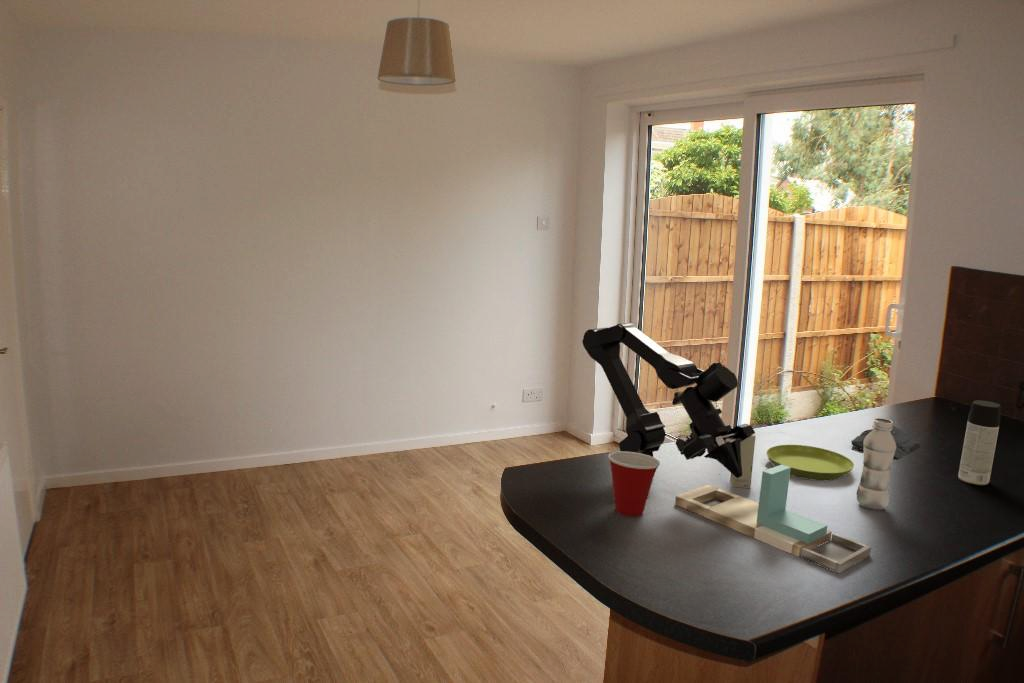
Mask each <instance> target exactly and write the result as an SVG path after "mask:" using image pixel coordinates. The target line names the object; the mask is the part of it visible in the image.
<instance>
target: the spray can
mask: <svg viewBox="0 0 1024 683" xmlns="http://www.w3.org/2000/svg"><path fill="white" fill-rule="evenodd" d="M1001 411H1002V405H1001V404H999V403H996V402H993V401H988V400H979V399H978V400H973V401H972V403H971V405H970V410H969V413H968V418H967V422H966V428H965V429H966V430H965V435H964V439H963V445H962V452H961V457H960V458H961V459H960V463H959V470H958V474H957V475H958V479H959V480H960V481H962V482H964V483H967V484H973V485H977V486H985V485H989V483H990V481H991V474H992V468H993V463H994V457H995V451H996V446H997V440H998V435H999V429H1000V423H1001Z"/></svg>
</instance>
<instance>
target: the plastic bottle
mask: <svg viewBox="0 0 1024 683" xmlns="http://www.w3.org/2000/svg"><path fill="white" fill-rule="evenodd" d="M892 426H894V425H893V420H890V419H886V418H880V417H876V418H874V420H873V424H872V429H873V430H872V431H871V432H870V433H869V434H868V435H867V436H866V437H865V439H864V443H863V445H864V446H863V448H864V450H863V462H862V463H863V466H862V472H861V476H860V480H859V484H858V486H857V490H856V501H857V503H858V504H859V505H861V506H862V507H865V508H867V509H871V510H876V511H877V510H880V511H881V510H884V509H886V508H887V507H888V505H889V503H890V502H889V501H890V488H889V487H890V473H891V468H892V464H893V460H894V459H893V457H894V454H895V451H896V442H895V440H894V438H893V436H892V435H891V433H890V431H892Z"/></svg>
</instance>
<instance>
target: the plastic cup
mask: <svg viewBox="0 0 1024 683" xmlns="http://www.w3.org/2000/svg"><path fill="white" fill-rule="evenodd" d="M608 460H609V463H610V470H611V478H612V479H611V480H612V491H613V497H614V498H613V499H614V508H615V511H616V513H617V514H619V515H621V516H625V517H630V518H633V517H640V516H641V515H643V513H644V511H645V508H646V503H647V500H648V497H649V493H650V491H651V486H652V483H653V479H654V477H655V474H656V472H657V469H658V468H659V467H660V465H661V461H660V460H659V459H657V457H655V456H653V457H651V456H649V455H645V454H641V453H635V452H624V451H613V452H611V453H608Z"/></svg>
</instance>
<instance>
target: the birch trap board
mask: <svg viewBox="0 0 1024 683" xmlns="http://www.w3.org/2000/svg"><path fill="white" fill-rule="evenodd" d="M674 504H676V505H675V506H677V505H678V507H680V506H681V508H682V507H683V508H682V509H684V508H685V510H687V509H688V510H687V511H689V510H690V511H689V512H692V513H694V512H695V513H694V514H696V513H697V514H696V515H699V516H701V517H703V516H704V518H706V519H708V520H710V519H711V520H710V521H713V522H716V523H718V524H720V525H723V526H725V527H728V528H729V529H732V530H734V531H737V532H739V533H742V534H744V535H746V536H749V537H750V538H753V539H755V538H754V535H755V529H756V528H758V527H760V526H762V525H760V524H758V523H756V522H757V514H758V506H759V502H757V501H753V500H751V499H749V498H746V497H743V496H741V495H739V494H736V493H733V492H729V491H727V490H726V489H723V488H719V487H717V486H714V485H712V484H706V485H704V486H700V487H697V488H695V489H692V490H690V491H686V492H683V493H680V494H678V495H675V502H674ZM829 540H831V541H829ZM827 541H829V542H827ZM825 542H827V543H825ZM823 543H825V544H823ZM821 544H823V545H821ZM819 545H821V546H819ZM818 546H819V547H818ZM816 547H817V548H816ZM814 548H815V549H814ZM812 549H813V550H812ZM871 551H872V547H871V546H869V545H867V544H864V543H863V542H862V543H861V542H859V541H856V540H853V539H851V538H848V537H846V536H843V535H840V534H838V533H836V532H834V533H832V531H831V530H829V529H827V533H826V535H825V536H823V537H821V538H819V539H817V540H815V541H813V542H811V543H809V544H806V543H804V542H801V541H798V542H796V543H794V544H793V545H792V554H791V555H793V554H794V556H796V557H798V556H799V557H800V558H801V559H803V558H804V559H803V560H805V559H806V560H805V561H807V560H809V561H808V562H810V561H811V562H810V563H812V562H813V563H812V564H815V563H816V564H815V565H817V564H819V565H821V566H820V567H822V566H823V567H822V568H824V567H825V569H826V568H828V569H827V570H829V569H831V570H833V571H832V572H834V571H835V572H834V573H836V572H838V573H839V574H841V573H843V572H844V571H843V570H845V569H846V570H848V569H849V567H850V566H851V567H853V566H854V564H855V563H857V562H858V563H860V562H862V561H863V559H864V560H865V559H867V558H869V557H870V556H871ZM868 556H869V557H868ZM861 560H862V561H861ZM859 561H860V562H859ZM858 563H857V564H858ZM819 565H818V566H819ZM852 565H853V566H852ZM855 565H856V564H855ZM851 567H850V568H851ZM847 568H848V569H847ZM831 570H830V571H831ZM846 570H845V571H846ZM842 571H843V572H842ZM840 572H841V573H840ZM838 573H837V574H838Z"/></svg>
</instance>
